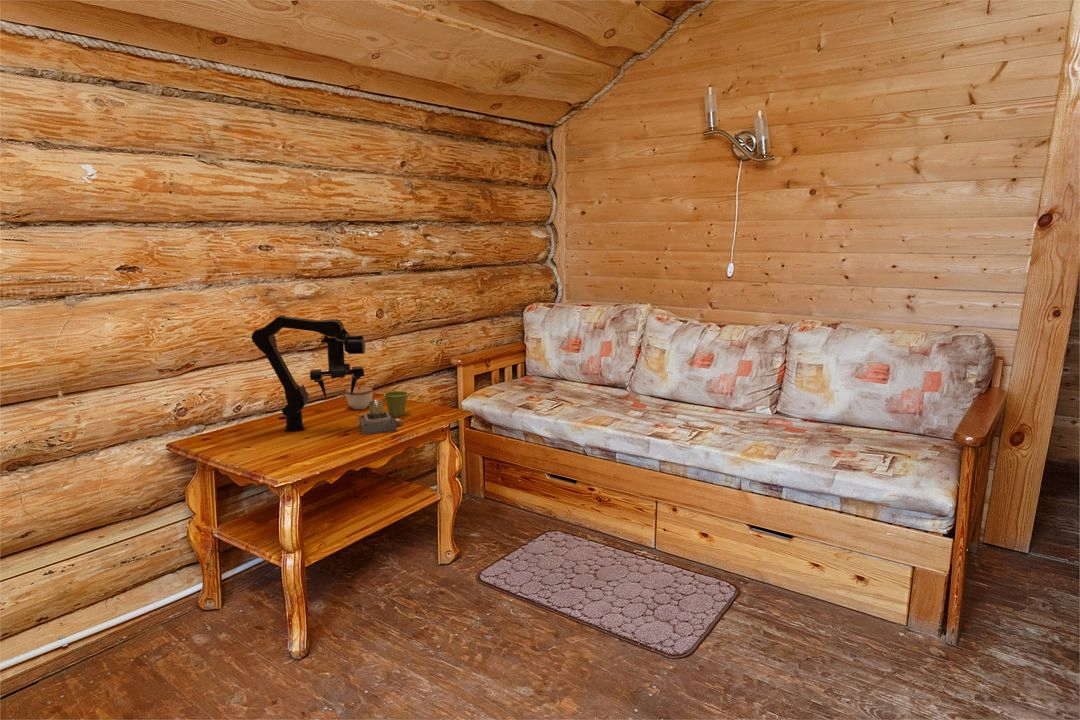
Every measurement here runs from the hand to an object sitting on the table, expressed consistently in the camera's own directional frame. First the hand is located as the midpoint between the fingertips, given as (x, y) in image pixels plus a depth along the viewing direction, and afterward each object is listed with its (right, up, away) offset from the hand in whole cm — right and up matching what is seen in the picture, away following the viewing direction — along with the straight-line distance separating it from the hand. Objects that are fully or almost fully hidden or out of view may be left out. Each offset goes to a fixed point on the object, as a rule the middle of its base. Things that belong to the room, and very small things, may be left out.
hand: (338, 395), depth 236 cm
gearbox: (+15, -12, +3) cm, 19 cm away
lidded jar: (0, -7, +29) cm, 30 cm away
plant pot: (+17, -9, +19) cm, 27 cm away
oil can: (+14, -9, +1) cm, 17 cm away
